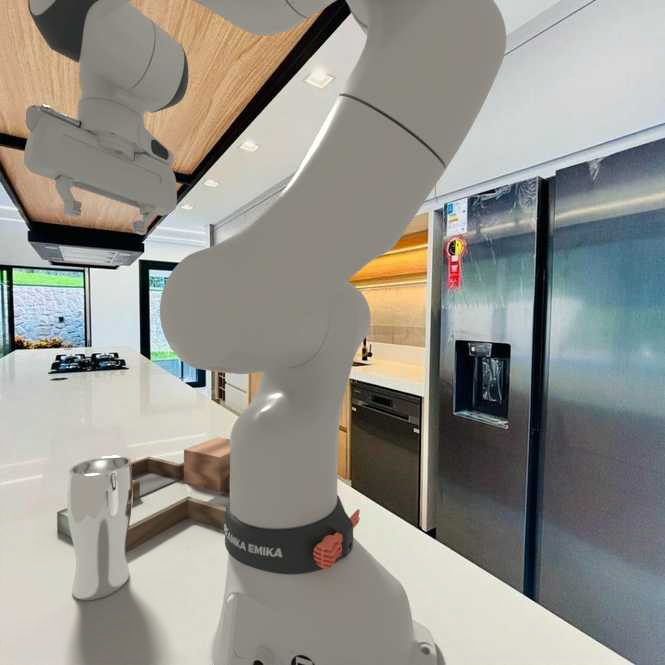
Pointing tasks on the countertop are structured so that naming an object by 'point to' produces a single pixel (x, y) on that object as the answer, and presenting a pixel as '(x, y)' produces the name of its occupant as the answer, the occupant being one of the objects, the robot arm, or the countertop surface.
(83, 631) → the countertop surface
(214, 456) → the terracotta block
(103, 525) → the beer glass
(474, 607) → the countertop surface
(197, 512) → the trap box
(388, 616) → the robot arm
